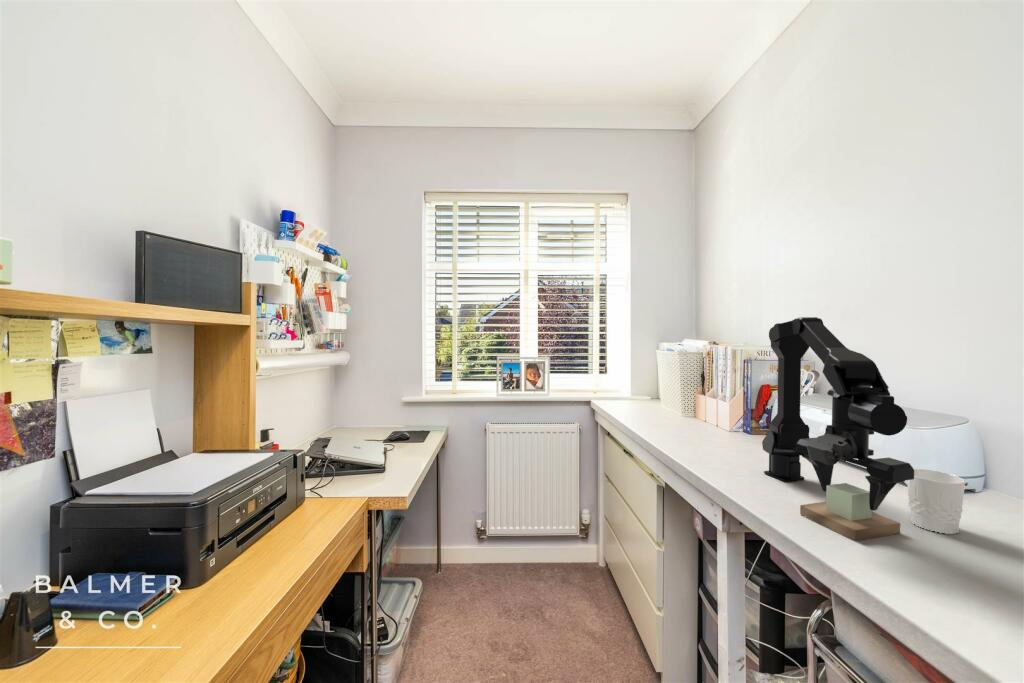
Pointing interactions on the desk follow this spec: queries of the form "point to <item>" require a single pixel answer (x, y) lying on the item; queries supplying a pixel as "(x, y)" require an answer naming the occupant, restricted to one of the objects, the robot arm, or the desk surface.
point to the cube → (848, 501)
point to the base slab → (851, 523)
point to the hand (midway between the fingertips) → (848, 500)
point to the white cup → (936, 500)
